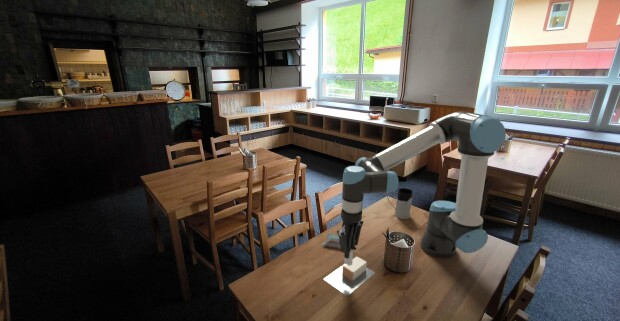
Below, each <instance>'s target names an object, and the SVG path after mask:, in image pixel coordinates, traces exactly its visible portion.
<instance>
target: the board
mask: <svg viewBox="0 0 620 321" xmlns="http://www.w3.org/2000/svg"><path fill="white" fill-rule="evenodd" d="M345 264H346V263H344V264H342V265H341V266H340V267H338V268H336V269H335V270H334V271H332V272H331V273H330V274H328V275H327V276H326V277H324V278H323V280H324V281H325V282H327V284H329V285H331V286H332V287H333V288H335V289H336V290H338V291H339V292H340V293H341V294H343V295H345V297H348V296H350V294H352V293H353V292H354V291H356V290H357V289H358V288H359V287H360V286H362V285H363V284H365V282H366V281H367V280H369V279H370V278H371V277H372V276H374V275H375V274H376V272H375V271H373V270H371V269H370V268H368V267H367V266H366V271H364V272H363V273H362V274H361V275H359V276H358V277H357V278H356V279H354V280H353V281H351V280H350V279H348V278H347V277H345V276H344V275H342V273H343V266H344V265H345Z"/></svg>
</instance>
